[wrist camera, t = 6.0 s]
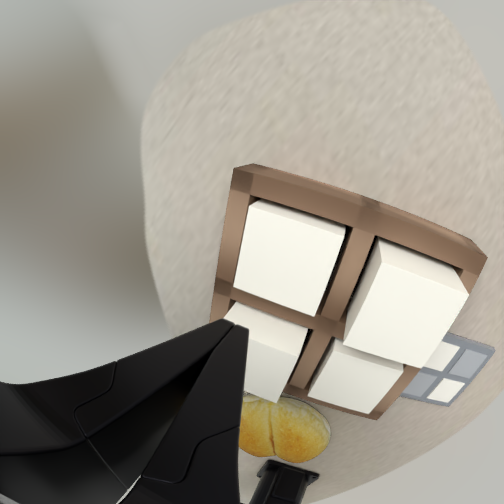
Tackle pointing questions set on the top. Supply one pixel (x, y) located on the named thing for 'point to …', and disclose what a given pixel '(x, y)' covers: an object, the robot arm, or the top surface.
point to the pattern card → (448, 370)
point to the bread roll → (282, 429)
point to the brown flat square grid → (348, 267)
